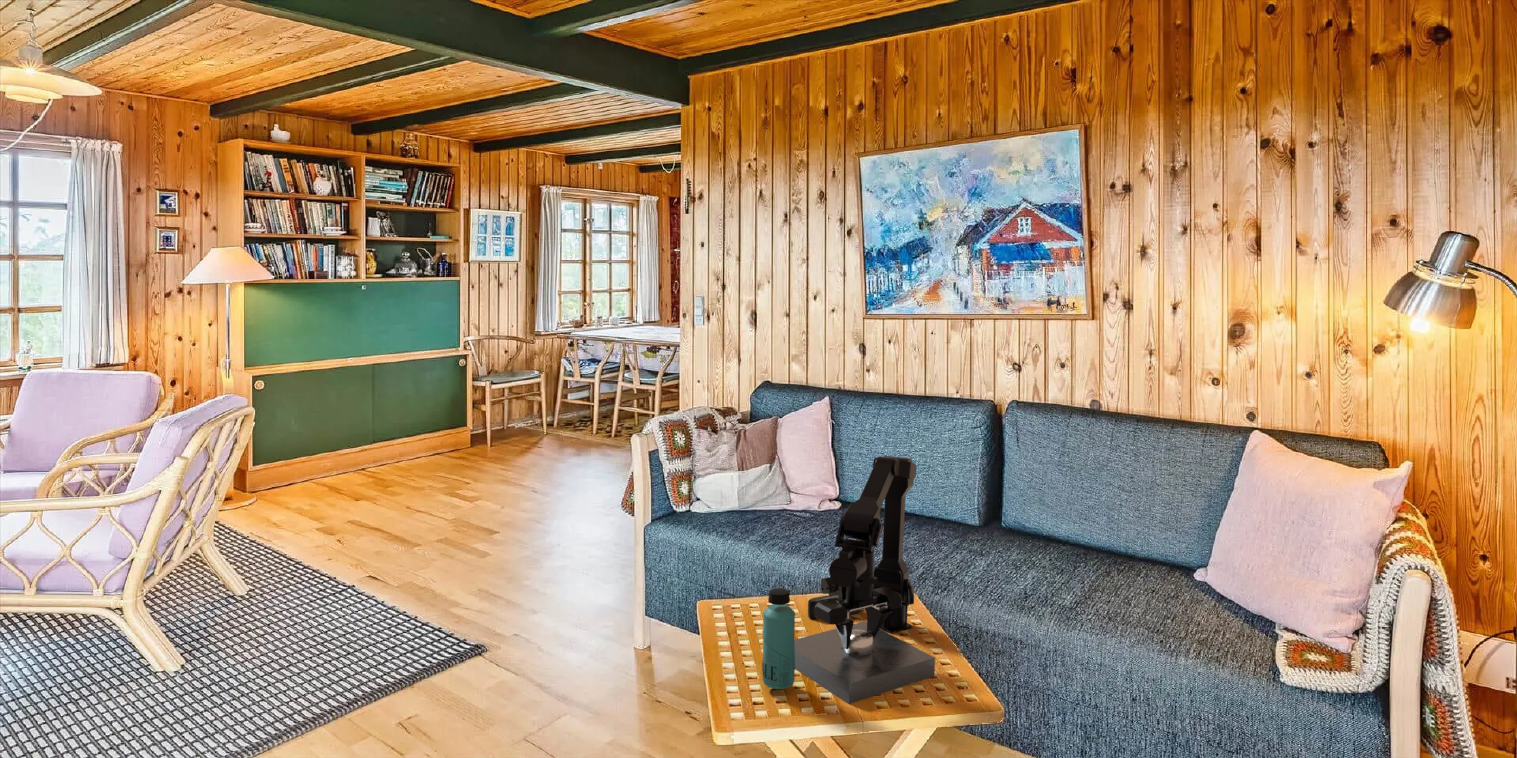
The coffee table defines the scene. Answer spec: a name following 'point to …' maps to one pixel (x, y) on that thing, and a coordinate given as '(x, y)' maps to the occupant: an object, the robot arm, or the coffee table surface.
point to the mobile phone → (816, 600)
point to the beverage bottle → (778, 641)
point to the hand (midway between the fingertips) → (857, 645)
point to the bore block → (861, 664)
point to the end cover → (860, 643)
